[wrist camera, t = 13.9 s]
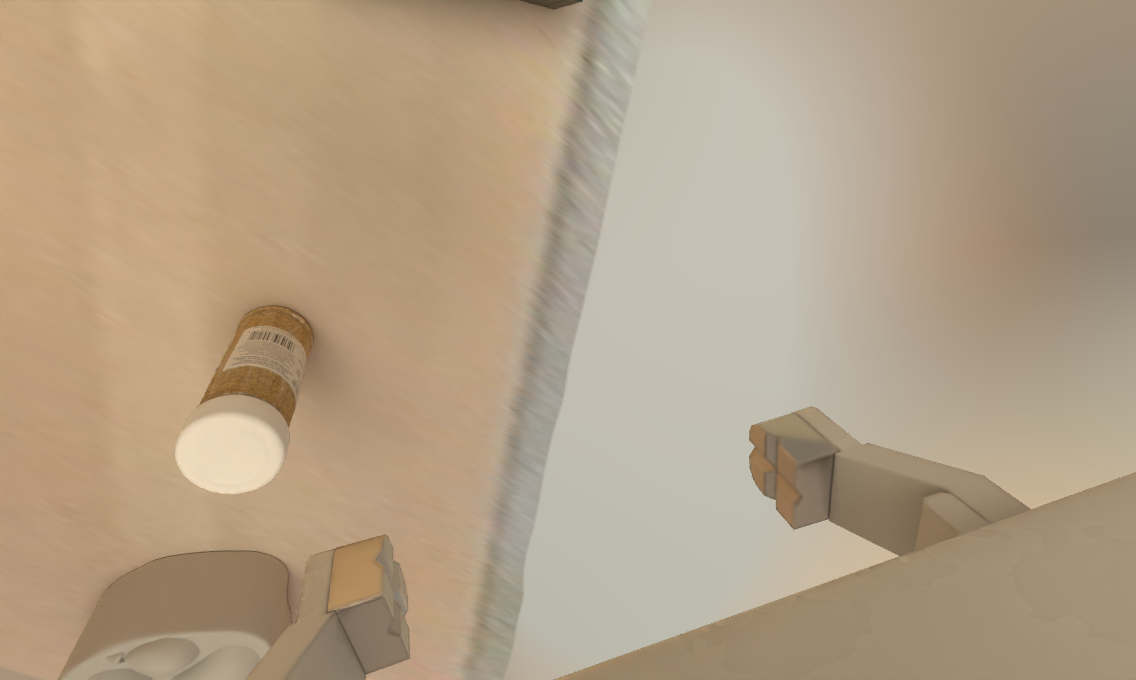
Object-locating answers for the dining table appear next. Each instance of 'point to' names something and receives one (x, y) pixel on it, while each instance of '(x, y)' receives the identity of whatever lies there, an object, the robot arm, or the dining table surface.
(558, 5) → the crate
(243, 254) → the dining table surface
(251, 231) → the dining table surface
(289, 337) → the sprinkles bottle
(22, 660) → the dining table surface
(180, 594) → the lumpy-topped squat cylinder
